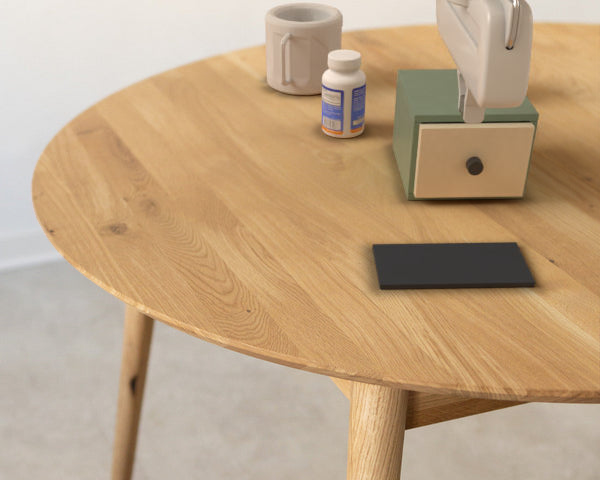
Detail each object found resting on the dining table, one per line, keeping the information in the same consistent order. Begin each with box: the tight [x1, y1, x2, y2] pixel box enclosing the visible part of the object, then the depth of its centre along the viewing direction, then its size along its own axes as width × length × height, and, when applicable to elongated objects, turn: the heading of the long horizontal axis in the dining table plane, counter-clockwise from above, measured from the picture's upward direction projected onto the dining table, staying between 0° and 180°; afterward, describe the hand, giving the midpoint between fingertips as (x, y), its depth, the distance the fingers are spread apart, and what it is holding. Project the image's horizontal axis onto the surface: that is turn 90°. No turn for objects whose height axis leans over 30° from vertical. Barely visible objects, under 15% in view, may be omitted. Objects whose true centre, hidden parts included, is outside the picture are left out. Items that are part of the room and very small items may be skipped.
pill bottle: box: [321, 48, 367, 139], centre depth 96 cm, size 5×5×10 cm
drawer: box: [414, 121, 535, 198], centre depth 85 cm, size 14×11×8 cm
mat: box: [371, 241, 536, 290], centre depth 73 cm, size 14×7×1 cm, turn 91°
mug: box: [264, 2, 344, 96], centre depth 109 cm, size 14×11×10 cm
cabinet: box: [391, 68, 540, 201], centre depth 87 cm, size 14×13×10 cm
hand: (470, 117), depth 71 cm, fingers closed
